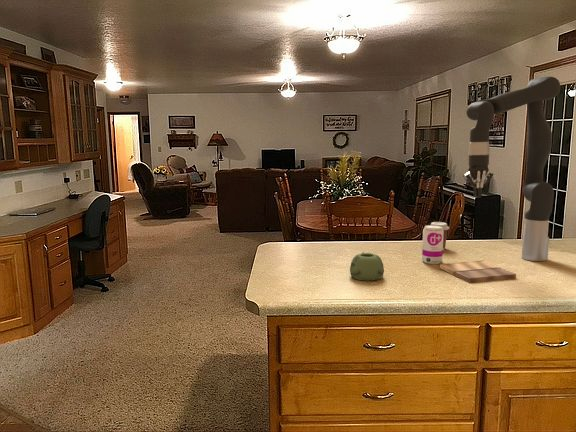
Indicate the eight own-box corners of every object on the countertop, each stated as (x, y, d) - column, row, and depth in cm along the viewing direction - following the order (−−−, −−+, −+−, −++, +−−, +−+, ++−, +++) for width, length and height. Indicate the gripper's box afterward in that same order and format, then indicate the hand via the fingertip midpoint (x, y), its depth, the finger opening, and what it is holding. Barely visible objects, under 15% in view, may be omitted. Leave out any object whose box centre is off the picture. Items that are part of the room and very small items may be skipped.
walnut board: (499, 271, 187) (499, 267, 187) (515, 278, 179) (516, 273, 178) (454, 275, 182) (454, 271, 182) (469, 282, 174) (469, 278, 173)
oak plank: (483, 264, 196) (483, 260, 196) (498, 271, 188) (498, 267, 188) (440, 267, 191) (440, 263, 191) (453, 275, 183) (453, 271, 183)
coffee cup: (424, 246, 231) (425, 221, 229) (443, 245, 232) (444, 221, 230) (432, 250, 222) (433, 225, 220) (451, 250, 223) (452, 224, 221)
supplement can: (443, 264, 198) (444, 229, 195) (422, 263, 199) (423, 228, 197) (441, 259, 206) (442, 225, 203) (421, 259, 207) (422, 224, 205)
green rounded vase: (387, 282, 175) (388, 258, 174) (352, 282, 175) (352, 259, 174) (378, 270, 191) (378, 248, 190) (345, 270, 191) (346, 249, 189)
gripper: (486, 152, 195) (485, 195, 198) (458, 154, 192) (457, 197, 194) (499, 153, 188) (498, 197, 191) (470, 154, 184) (469, 199, 187)
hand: (477, 197), depth 193 cm, fingers closed
